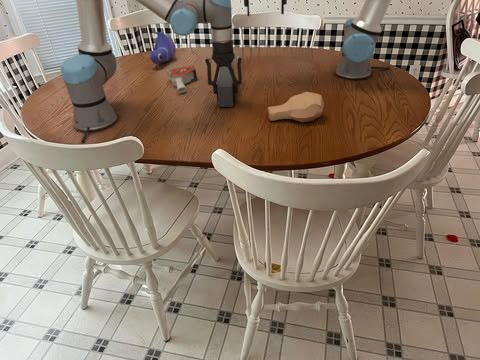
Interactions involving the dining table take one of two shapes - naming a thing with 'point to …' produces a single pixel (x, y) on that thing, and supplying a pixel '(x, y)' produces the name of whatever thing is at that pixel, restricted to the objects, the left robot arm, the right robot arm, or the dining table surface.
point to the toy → (162, 49)
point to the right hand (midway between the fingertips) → (265, 14)
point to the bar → (225, 87)
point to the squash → (298, 108)
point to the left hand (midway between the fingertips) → (226, 100)
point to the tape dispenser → (181, 77)
